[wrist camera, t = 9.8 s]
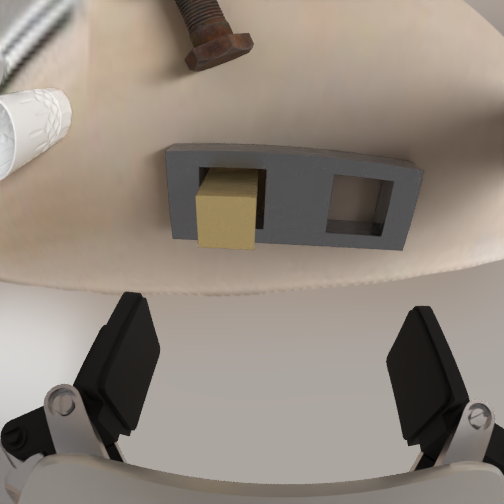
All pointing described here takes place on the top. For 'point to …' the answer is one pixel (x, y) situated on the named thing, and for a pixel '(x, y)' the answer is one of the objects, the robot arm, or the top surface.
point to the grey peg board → (298, 193)
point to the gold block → (227, 208)
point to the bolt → (211, 35)
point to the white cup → (31, 125)
